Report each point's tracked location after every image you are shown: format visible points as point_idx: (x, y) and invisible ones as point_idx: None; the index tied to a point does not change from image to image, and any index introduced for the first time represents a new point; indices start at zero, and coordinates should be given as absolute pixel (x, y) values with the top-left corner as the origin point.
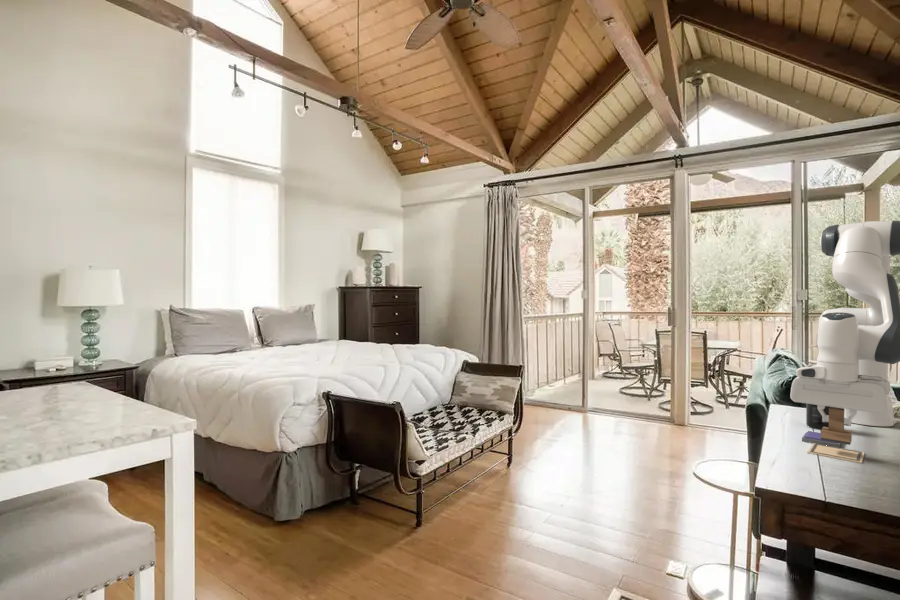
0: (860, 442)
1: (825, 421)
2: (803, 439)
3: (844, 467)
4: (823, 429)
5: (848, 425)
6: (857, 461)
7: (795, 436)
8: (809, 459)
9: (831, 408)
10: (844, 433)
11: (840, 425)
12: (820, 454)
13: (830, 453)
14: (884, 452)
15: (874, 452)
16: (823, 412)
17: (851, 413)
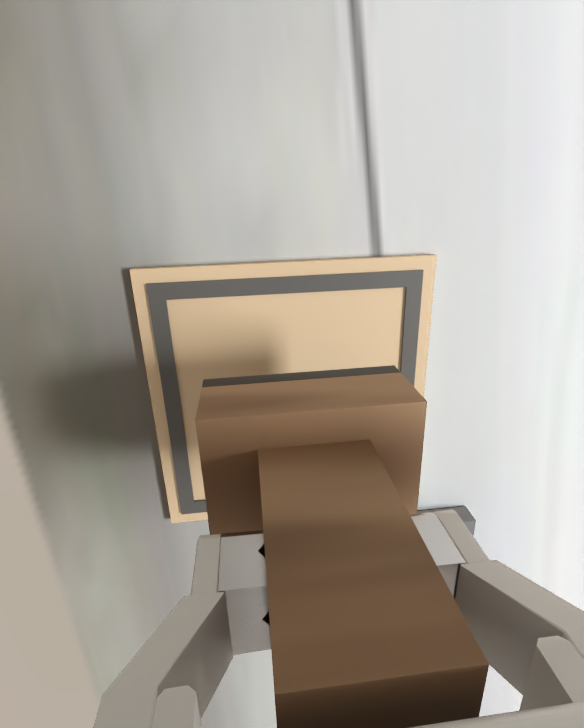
0: (228, 696)
1: (427, 513)
2: (463, 516)
3: (191, 31)
4: (409, 446)
5: (218, 535)
6: (153, 267)
7: None
8: (415, 65)
9: (452, 688)
10: (244, 437)
11: (286, 494)
12: (362, 258)
13: (314, 337)
14: (105, 615)
15: (140, 578)
16: (500, 616)
17: (165, 686)
